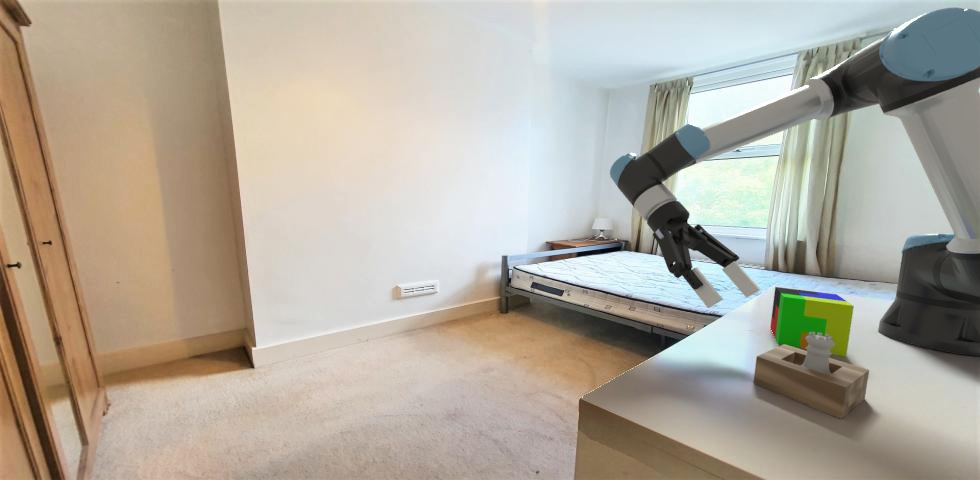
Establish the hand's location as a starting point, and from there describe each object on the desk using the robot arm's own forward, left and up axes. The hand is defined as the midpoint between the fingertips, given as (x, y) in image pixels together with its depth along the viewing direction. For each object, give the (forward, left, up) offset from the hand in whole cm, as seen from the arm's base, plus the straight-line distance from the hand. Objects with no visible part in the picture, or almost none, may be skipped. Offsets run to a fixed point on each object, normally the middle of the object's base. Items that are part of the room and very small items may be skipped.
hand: (735, 298), depth 60 cm
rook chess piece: (0, +12, -11) cm, 16 cm away
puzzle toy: (-24, +3, -12) cm, 27 cm away
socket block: (+1, +11, -11) cm, 16 cm away
